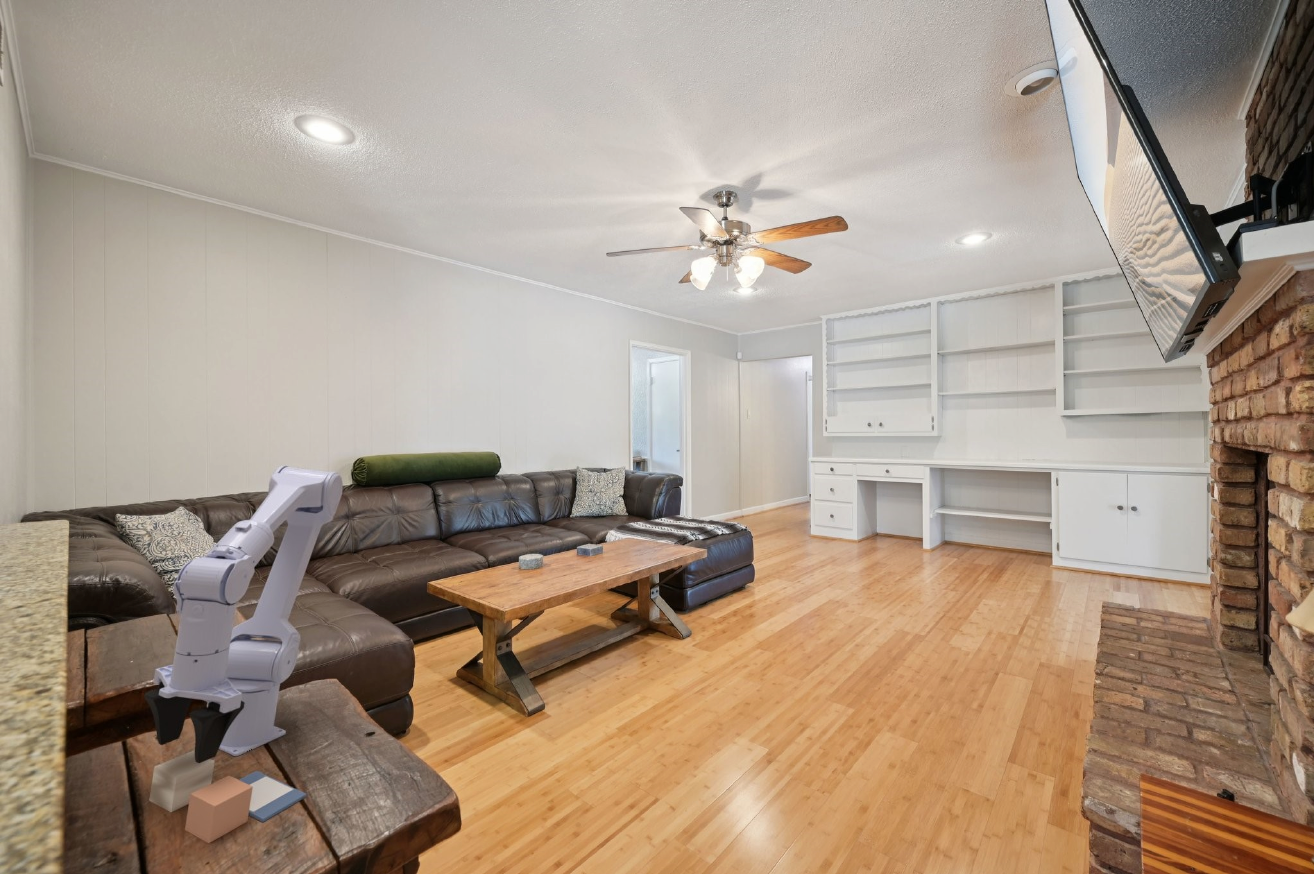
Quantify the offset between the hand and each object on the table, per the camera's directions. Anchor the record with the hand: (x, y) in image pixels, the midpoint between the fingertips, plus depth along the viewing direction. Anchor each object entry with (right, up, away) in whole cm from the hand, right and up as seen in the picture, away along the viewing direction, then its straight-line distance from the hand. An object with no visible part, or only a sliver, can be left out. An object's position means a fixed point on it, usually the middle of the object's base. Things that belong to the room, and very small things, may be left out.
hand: (186, 750), depth 73 cm
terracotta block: (+7, -7, -4) cm, 11 cm away
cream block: (-1, -6, 0) cm, 6 cm away
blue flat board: (+8, -7, +2) cm, 11 cm away
